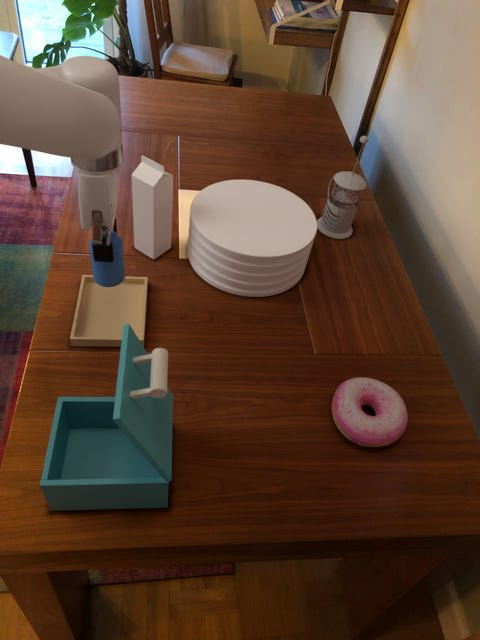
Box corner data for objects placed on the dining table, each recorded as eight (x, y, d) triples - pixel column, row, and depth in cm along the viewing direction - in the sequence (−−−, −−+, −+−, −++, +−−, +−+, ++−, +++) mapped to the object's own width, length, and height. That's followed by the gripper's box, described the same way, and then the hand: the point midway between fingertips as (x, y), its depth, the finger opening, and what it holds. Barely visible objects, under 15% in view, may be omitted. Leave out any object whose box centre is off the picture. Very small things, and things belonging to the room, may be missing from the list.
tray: (143, 347, 90) (143, 340, 89) (71, 346, 88) (69, 338, 86) (147, 284, 101) (147, 277, 100) (83, 282, 99) (82, 274, 98)
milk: (151, 236, 112) (151, 149, 96) (171, 248, 110) (174, 161, 94) (133, 248, 109) (130, 159, 93) (153, 260, 107) (153, 172, 91)
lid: (112, 419, 51) (158, 410, 50) (123, 324, 60) (162, 316, 60) (165, 482, 64) (203, 475, 63) (168, 396, 73) (200, 389, 72)
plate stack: (328, 276, 111) (342, 237, 103) (224, 312, 99) (231, 271, 91) (264, 210, 126) (272, 171, 117) (167, 233, 114) (168, 192, 105)
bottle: (100, 291, 85) (94, 237, 76) (88, 271, 88) (81, 218, 79) (129, 282, 87) (126, 229, 79) (117, 263, 90) (113, 210, 82)
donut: (391, 389, 91) (401, 374, 87) (409, 454, 82) (421, 440, 78) (323, 385, 90) (330, 369, 86) (334, 450, 81) (342, 436, 77)
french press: (326, 240, 120) (356, 148, 102) (307, 213, 127) (332, 122, 109) (359, 236, 123) (395, 146, 105) (339, 210, 130) (369, 121, 112)
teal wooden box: (50, 510, 68) (39, 485, 62) (66, 426, 77) (58, 396, 71) (167, 507, 71) (168, 482, 64) (169, 426, 80) (170, 397, 73)
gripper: (78, 122, 75) (90, 217, 88) (59, 183, 63) (76, 281, 76) (127, 126, 76) (131, 220, 89) (117, 187, 64) (124, 283, 78)
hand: (106, 247), depth 83 cm, fingers closed on bottle, 5 cm apart
